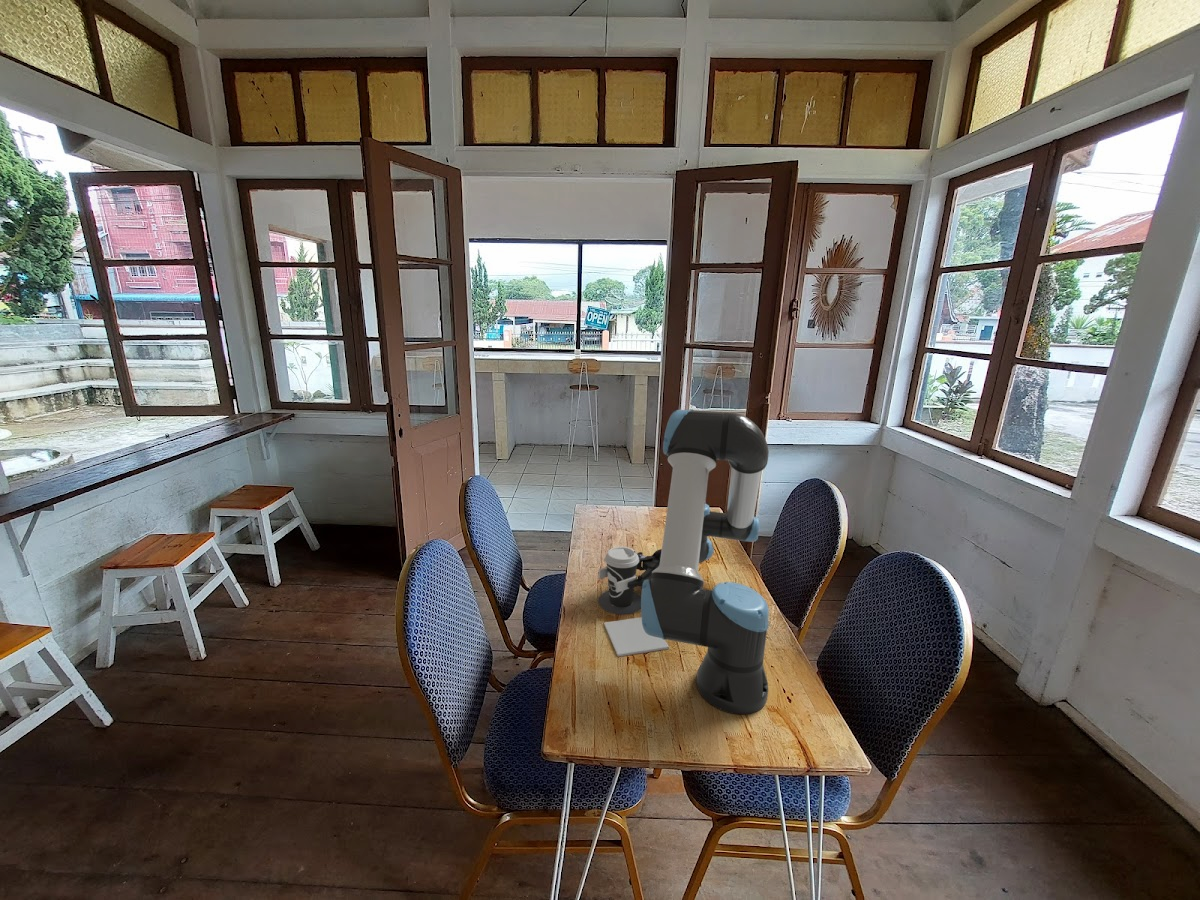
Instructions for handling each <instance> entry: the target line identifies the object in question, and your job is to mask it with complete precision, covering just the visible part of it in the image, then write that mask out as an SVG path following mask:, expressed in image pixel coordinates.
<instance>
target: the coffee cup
mask: <svg viewBox="0 0 1200 900" xmlns="http://www.w3.org/2000/svg"><path fill="white" fill-rule="evenodd" d="M637 553H638V552H637V551H636V550H635V549H633V548H631V547H628V546H615V547H612V548H610V549H609V550H607V553H606V554H605V557H604V561H605V563H606V567H607V573H608V577H607V582H608V584H607V585H608V590H609V598H610V603H611V604H612V605H614V606H616V607H627V606H629V605H631V604H632V601H633V593H634V592H635V587H634V588H631V589H626V590H624V591H621V592H618V593H617V592H616V582H619V581H622V580H625V579H628V578H631V577H633V576H636V575H637V570H638V569H637V564H638V563H639V557H638V555H637ZM636 577H637V576H636Z"/></svg>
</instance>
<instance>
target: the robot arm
mask: <svg viewBox="0 0 1200 900" xmlns="http://www.w3.org/2000/svg"><path fill="white" fill-rule="evenodd" d="M665 427H666V428H665V430H664V431H665V432H664V436H663V437H664V439H663V442H662V452H663V454H664V455H666V456H667V462H668V464H670V466H671V467H672V472H671V480H670V487H669V492H668V493H669V495H668V501H667V506H666V507H667V509H666V516H665V523H664V529H663V530H664V531H663V539H662V544H661V548H660V549H657V550H655V551H654V553H653V554H652V555H646V556H645V555H644V554H643V552H641V551H639V552H636V553H637V555H638V557H639V563H638V564H637V569H636V570H639V571H643V572H642V573H641V574H638V575H637V576H633V577H631V578H628V579H625V580H622V581H619V582H616V592H617V593H618V592H621V591H624V590H626V589H631V588H634V589H635V588H636V587H638V588H640V587H641V588H642V589H641V593H640V594H641V595H640V596H641V609H640V612H641V613H640V614H641V615H640V618H642V625H643V629H644V631H645V632H646V633H647V634H648V635H650V636H654V637H658V638H662V639H663V640H665V641H666V640H668V641H673V642H679V643H683V644H689V645H695V646H699V647H700V646H701V647H706V648H707V651H706V654H705V655H704V658H703V659H702V661H701V664H700V665H699V667H698V670H697V673H696V688H697V690H698V693H699V694H700V696H701V697H702V698H703V699H704V700H705V701H706V703H708V704H709V705H710V706H713V707H714V708H716V709H718V710H720V711H722V712H725V713H730V714H734V715H748V714H749V715H750V714H753V713H756V712H758V711H759V710H761V709H763V707H764V706H765V705H766V703H767V701H768V695H769V682H768V679H767V675H766V671H765V667H764V659H765V658H764V657H765V648H766V643H767V642H766V640H767V633H768V629H769V627H770V622H769V616H770V615H769V613H770V611H769V608H770V607H769V605H768V602H767V601H766V600H765V598H764V597H763V596H762V595H761V594H760V593H758V591H756V590H755V589H753V588H752V587H749V586H747V585H744V584H741V583H737V582H733V581H732V582H731V581H725V582H724V583H723V582H719V583H717V584H716V585H715V586H714V587H713V588H712V590H711V589H705V588H704V583H705V581H704V578H703V577H702V576H701V575H700V574H699V564H701V563H704V562H705V561H707V560H709V559H711V558H712V556H713V554H714V552H715V551H714V547H713V542H712V541H711V540H710V538H708V537H713V538H719V539H727V540H734V541H741V542H753V543H755V542H756V541H758V538H759V532H760V519H759V517H757V516H755V511H756V506H757V501H758V500H757V499H758V495H759V490H760V484H761V483H760V482H761V476H762V471H764V470H765V469H766V467H767V466H768V461H769V453H770V452H769V446H768V443H767V439H766V437H765V435H764V433H763V432H762V430H761V429H760V428H759V426H758V425H757V424H755V422H754V421H752V420H751V419H750V418H749V417H747V416H746V415H742V414H740V413H736V412H722V411H711V410H709V411H708V410H694V409H676V410H674V411H673V412H672V413H671V414H670V416H669V418H668V420H667V424H666V426H665ZM717 460H718V461H728V464H729V466H730V467H731V469H730V476H729V477H730V478H729V488H728V498H727V507H726V508H727V509H726V510H727V511H726V512H719V511H718V512H717V511H712V510H711V508H710V505H709V504H707V503H706V500H707V491H708V481H709V475H710V474H709V473H710V472H712V470H713V469H715V468H716V467H717ZM605 578H608V573H607V566H606V567H601V568H598V579H599V580H602V579H605Z"/></svg>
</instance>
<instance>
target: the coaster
mask: <svg viewBox="0 0 1200 900" xmlns="http://www.w3.org/2000/svg"><path fill="white" fill-rule="evenodd" d="M597 599H598V601H597V602H598V605H599V607H600V608H601V609H603V610H604V611H605V612H608V613H609V614H614V615H619V616H624V615H632V614H635V613H637V612H639V611H641V595H640V594H639V593H638V592H637V591H634V593H633V601H632V604H631V605H629V606H627V607H616V606H614V605H612V604H611V603H610V598H609V589H608V590H607V591H604V592H602V593H601V594H600V595H599V597H598V598H597Z"/></svg>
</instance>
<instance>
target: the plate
mask: <svg viewBox="0 0 1200 900" xmlns="http://www.w3.org/2000/svg"><path fill="white" fill-rule="evenodd" d="M603 626H604V628H605V631H606V633H607V635H608V637H609V639H610V642H611V644H612V646H613V649H614V651H615V653H616V656H617V657H618V658H619V657H623V656H624V657H625V656H630V655H637V654H644V653H650V652H657V651H662V650H663V651H664V650H669V649H670V646H669V645H668V643H667V641H666V640H663V639H662V638H658V637H654V636H650V635H648V634H647V633H646V632H645V631H644V629H643V625H642V618H641V617H634V618H626V619H619V620H613V621H606V622H603Z"/></svg>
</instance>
